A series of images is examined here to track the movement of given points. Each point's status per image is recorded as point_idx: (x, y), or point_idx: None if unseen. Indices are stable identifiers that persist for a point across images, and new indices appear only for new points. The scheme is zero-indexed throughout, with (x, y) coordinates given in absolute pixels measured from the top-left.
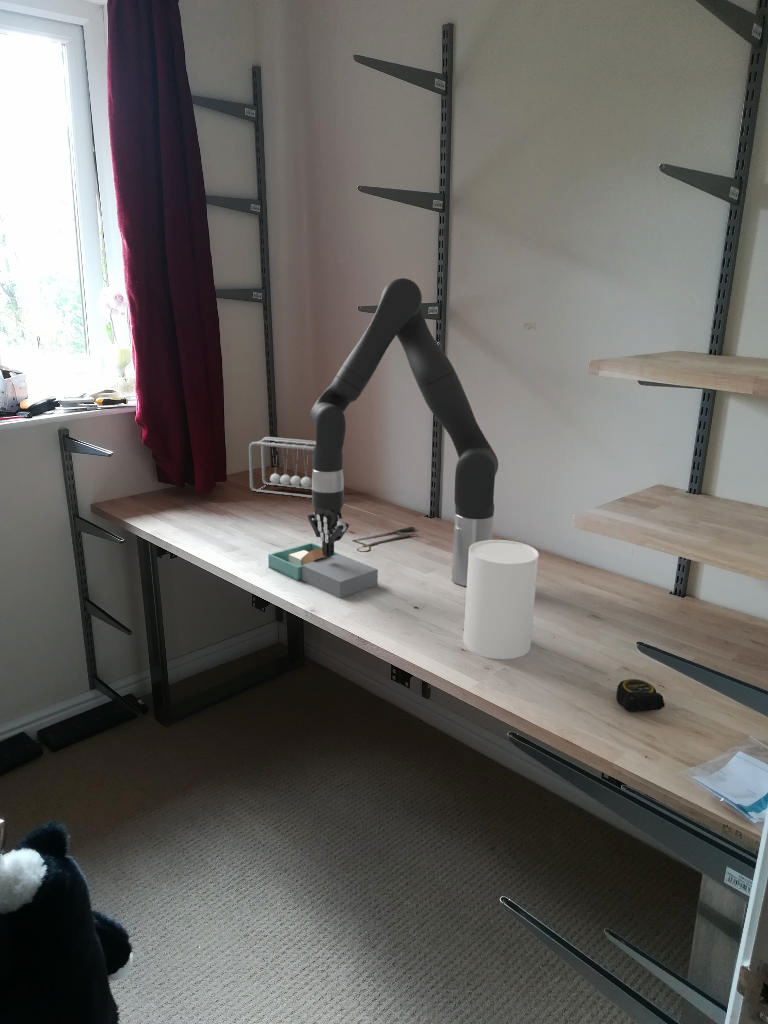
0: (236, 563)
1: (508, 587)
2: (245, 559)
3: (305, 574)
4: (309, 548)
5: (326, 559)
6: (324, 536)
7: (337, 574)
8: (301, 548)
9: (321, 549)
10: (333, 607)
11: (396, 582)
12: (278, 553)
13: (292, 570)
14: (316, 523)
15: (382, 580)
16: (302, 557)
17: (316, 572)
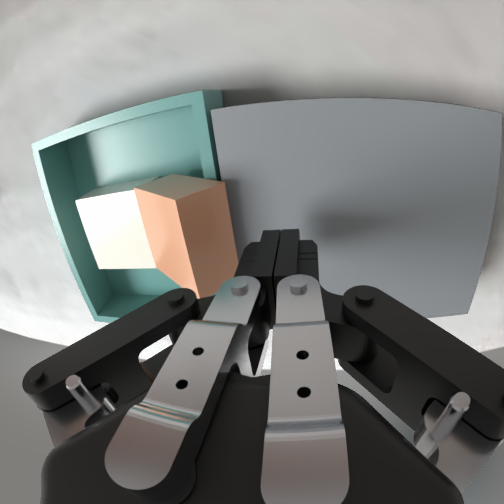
0: (76, 325)
1: None
2: (57, 299)
3: None
4: (52, 154)
5: (244, 213)
6: (262, 353)
7: (423, 284)
8: (56, 195)
9: (193, 236)
10: (463, 320)
11: (482, 40)
12: (87, 291)
13: None
14: (130, 394)
15: (444, 56)
16: (161, 270)
17: None
